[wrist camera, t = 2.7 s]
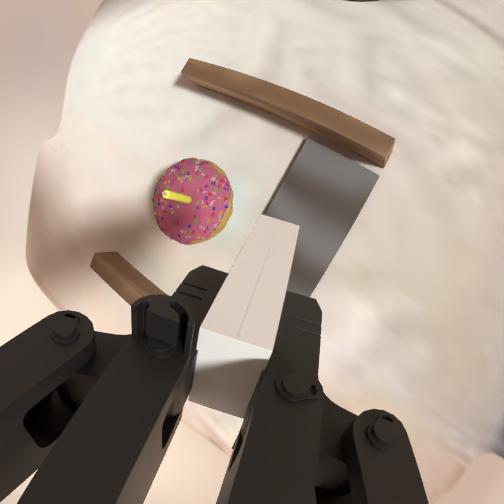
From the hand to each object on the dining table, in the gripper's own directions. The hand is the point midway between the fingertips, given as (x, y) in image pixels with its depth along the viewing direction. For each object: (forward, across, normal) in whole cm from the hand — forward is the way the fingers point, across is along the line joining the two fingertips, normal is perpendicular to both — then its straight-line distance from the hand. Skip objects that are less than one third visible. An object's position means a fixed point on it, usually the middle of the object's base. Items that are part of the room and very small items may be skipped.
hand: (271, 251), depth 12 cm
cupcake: (+21, -8, -8) cm, 24 cm away
